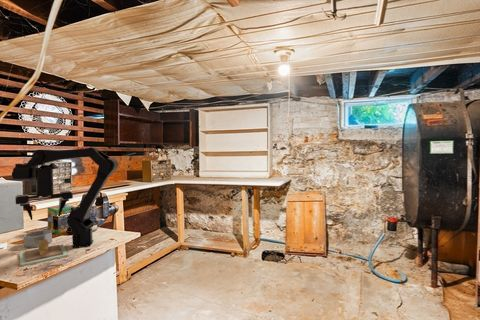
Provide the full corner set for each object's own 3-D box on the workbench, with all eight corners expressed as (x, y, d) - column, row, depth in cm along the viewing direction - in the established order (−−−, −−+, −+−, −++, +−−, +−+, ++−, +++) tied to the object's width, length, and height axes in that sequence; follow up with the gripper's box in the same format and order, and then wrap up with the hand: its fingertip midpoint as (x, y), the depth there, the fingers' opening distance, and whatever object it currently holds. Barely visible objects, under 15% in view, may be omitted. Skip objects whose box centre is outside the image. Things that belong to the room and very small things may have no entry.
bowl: (50, 238, 121) (50, 228, 121) (52, 244, 114) (52, 233, 114) (24, 243, 115) (23, 233, 115) (24, 249, 108) (24, 238, 108)
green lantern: (47, 231, 132) (46, 201, 132) (67, 226, 140) (66, 198, 139) (55, 234, 127) (55, 203, 126) (76, 229, 135) (75, 200, 134)
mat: (62, 245, 113) (62, 244, 113) (68, 256, 102) (68, 254, 102) (19, 254, 104) (19, 252, 104) (20, 266, 93) (20, 264, 93)
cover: (58, 246, 111) (58, 235, 110) (63, 254, 102) (62, 242, 102) (24, 252, 104) (24, 241, 103) (26, 262, 95) (25, 249, 95)
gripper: (68, 176, 123) (69, 210, 123) (14, 179, 111) (16, 217, 111) (72, 179, 114) (73, 215, 115) (14, 182, 102) (16, 223, 103)
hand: (45, 217), depth 111 cm, fingers open, 9 cm apart
